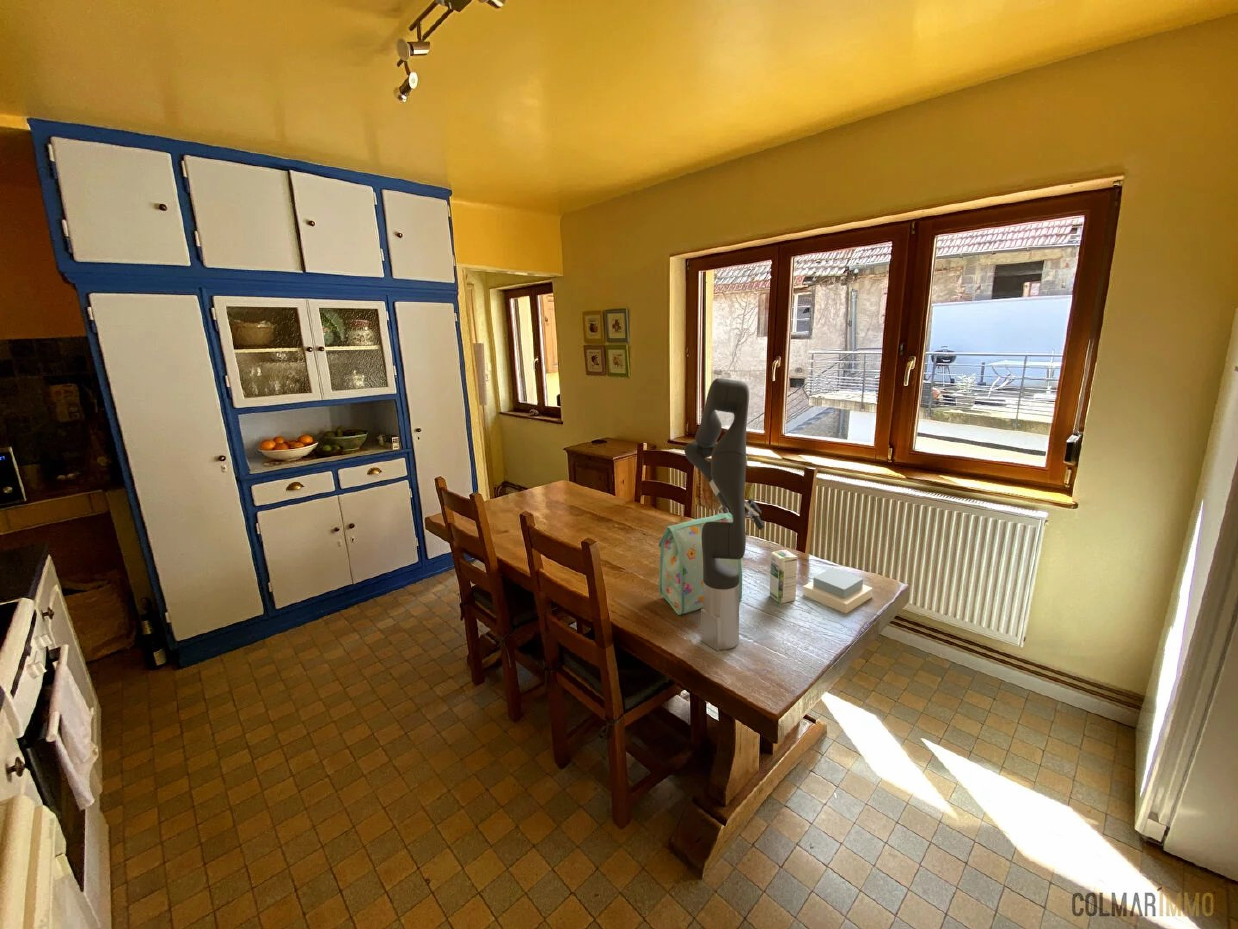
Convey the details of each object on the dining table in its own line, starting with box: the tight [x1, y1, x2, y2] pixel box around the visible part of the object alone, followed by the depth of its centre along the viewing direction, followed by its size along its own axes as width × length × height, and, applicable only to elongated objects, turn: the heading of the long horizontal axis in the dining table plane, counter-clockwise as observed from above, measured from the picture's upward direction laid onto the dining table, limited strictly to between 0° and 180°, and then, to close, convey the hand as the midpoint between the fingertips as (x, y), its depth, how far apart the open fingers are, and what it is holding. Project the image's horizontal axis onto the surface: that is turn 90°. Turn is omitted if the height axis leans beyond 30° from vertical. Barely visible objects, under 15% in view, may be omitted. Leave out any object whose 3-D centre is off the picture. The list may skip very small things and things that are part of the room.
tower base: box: [802, 567, 873, 614], centre depth 152 cm, size 14×14×6 cm
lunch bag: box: [657, 512, 743, 616], centre depth 153 cm, size 23×16×27 cm
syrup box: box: [769, 549, 798, 604], centre depth 152 cm, size 6×6×14 cm
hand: (753, 532), depth 159 cm, fingers open, 8 cm apart
